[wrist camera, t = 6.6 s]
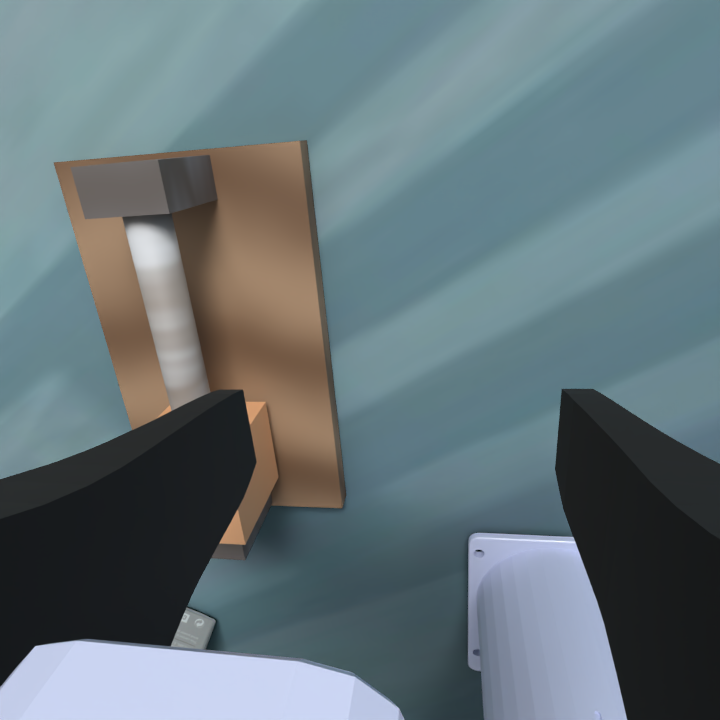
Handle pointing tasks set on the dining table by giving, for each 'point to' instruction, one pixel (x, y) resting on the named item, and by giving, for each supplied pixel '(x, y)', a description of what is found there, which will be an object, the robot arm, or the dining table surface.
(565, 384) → the dining table surface
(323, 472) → the rail
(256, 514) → the slider
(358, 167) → the dining table surface
